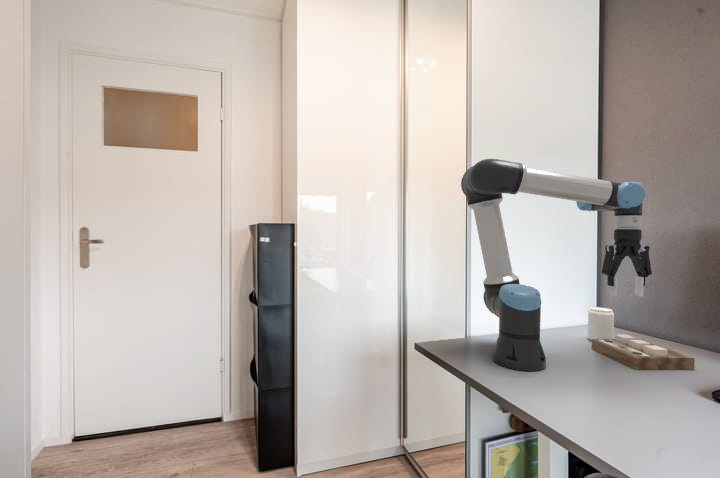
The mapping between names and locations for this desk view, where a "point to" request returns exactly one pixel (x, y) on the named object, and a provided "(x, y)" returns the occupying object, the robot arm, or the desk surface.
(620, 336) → the button left
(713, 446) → the desk surface
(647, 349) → the button right
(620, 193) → the robot arm
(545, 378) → the desk surface
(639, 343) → the button mid
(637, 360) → the board
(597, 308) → the white cylindrical container
